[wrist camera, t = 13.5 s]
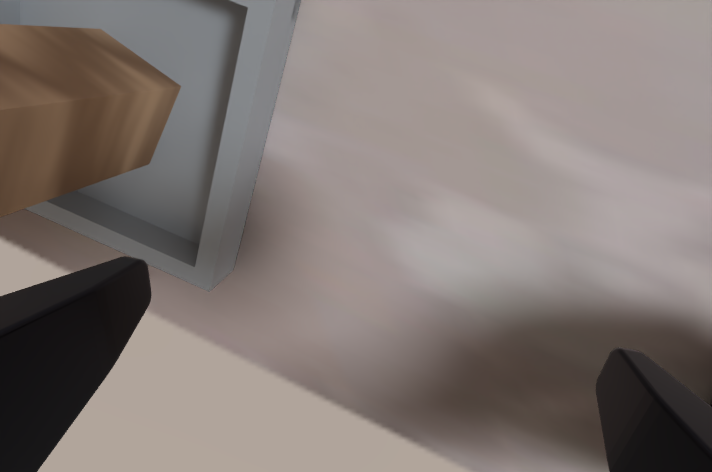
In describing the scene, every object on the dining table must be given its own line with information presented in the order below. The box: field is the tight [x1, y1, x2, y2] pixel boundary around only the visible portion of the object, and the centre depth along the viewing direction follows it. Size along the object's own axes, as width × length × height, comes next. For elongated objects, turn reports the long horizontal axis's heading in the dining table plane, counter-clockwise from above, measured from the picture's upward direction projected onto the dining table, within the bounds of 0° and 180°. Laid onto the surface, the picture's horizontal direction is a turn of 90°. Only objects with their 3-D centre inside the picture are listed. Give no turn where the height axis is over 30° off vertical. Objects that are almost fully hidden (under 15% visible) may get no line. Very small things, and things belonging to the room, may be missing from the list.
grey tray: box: [0, 0, 301, 292], centre depth 21 cm, size 14×14×2 cm
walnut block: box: [0, 24, 181, 217], centre depth 16 cm, size 4×4×13 cm
